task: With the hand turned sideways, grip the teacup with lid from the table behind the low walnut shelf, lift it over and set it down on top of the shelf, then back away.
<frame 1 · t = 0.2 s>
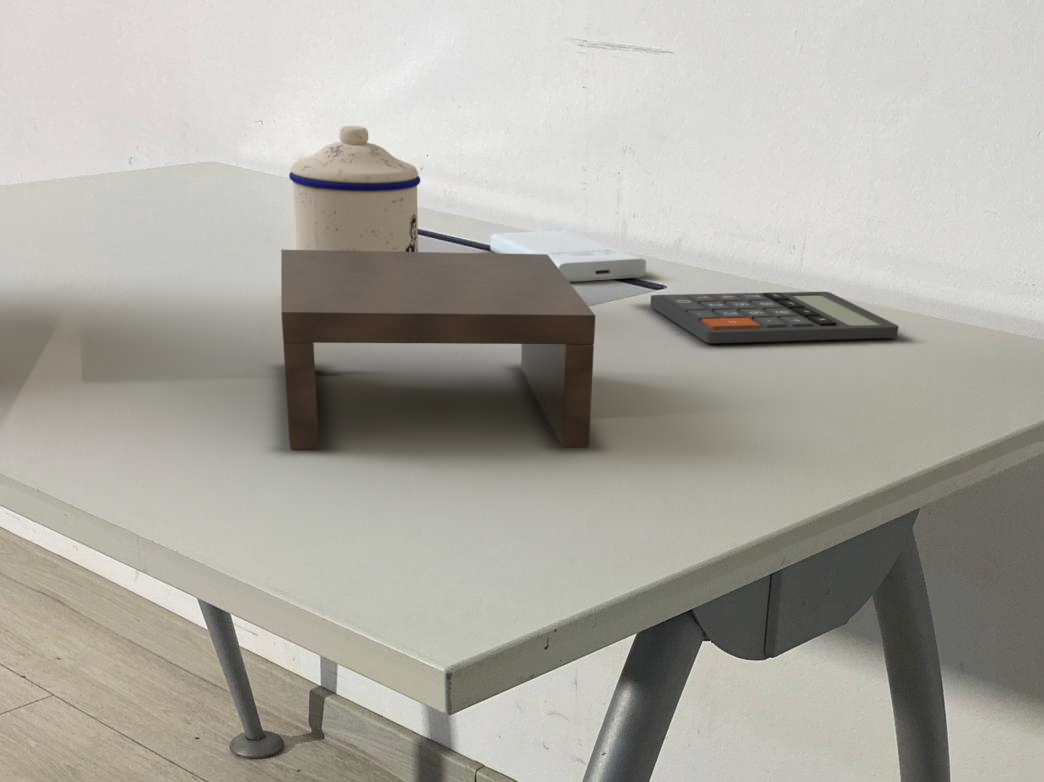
calculator: (770, 323, 106), on the table
hard drive: (565, 267, 120), on the table
shelf: (429, 405, 83), on the table
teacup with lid: (356, 299, 106), on the table
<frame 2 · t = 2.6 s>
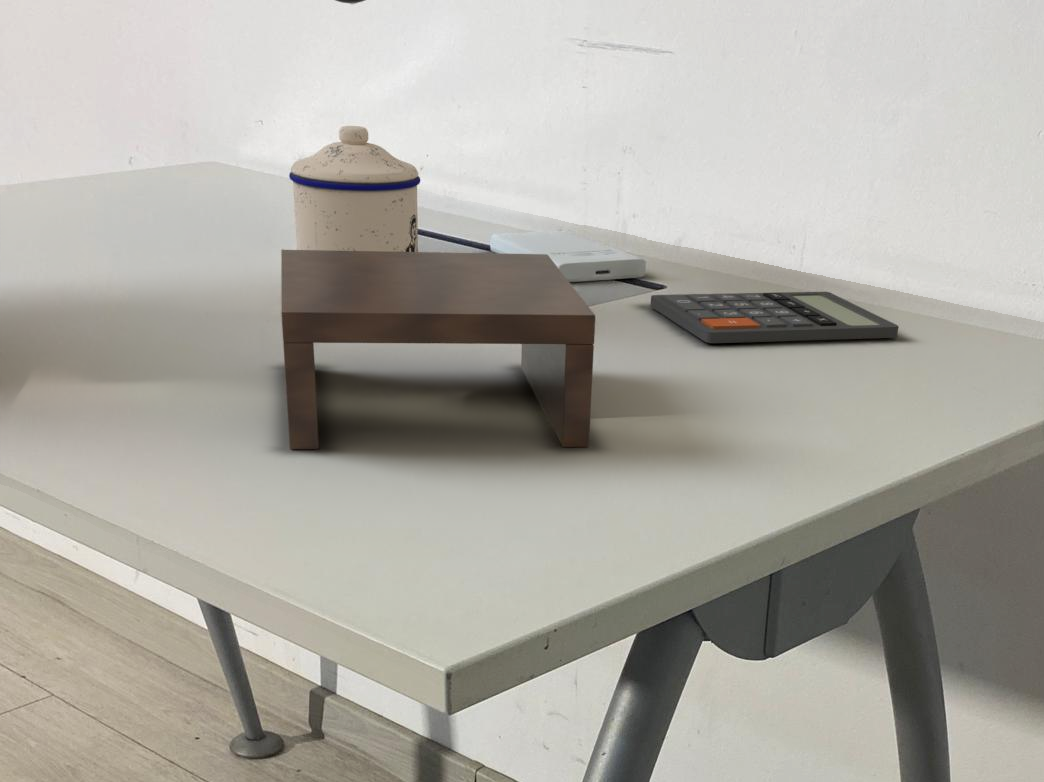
nothing on the table moved.
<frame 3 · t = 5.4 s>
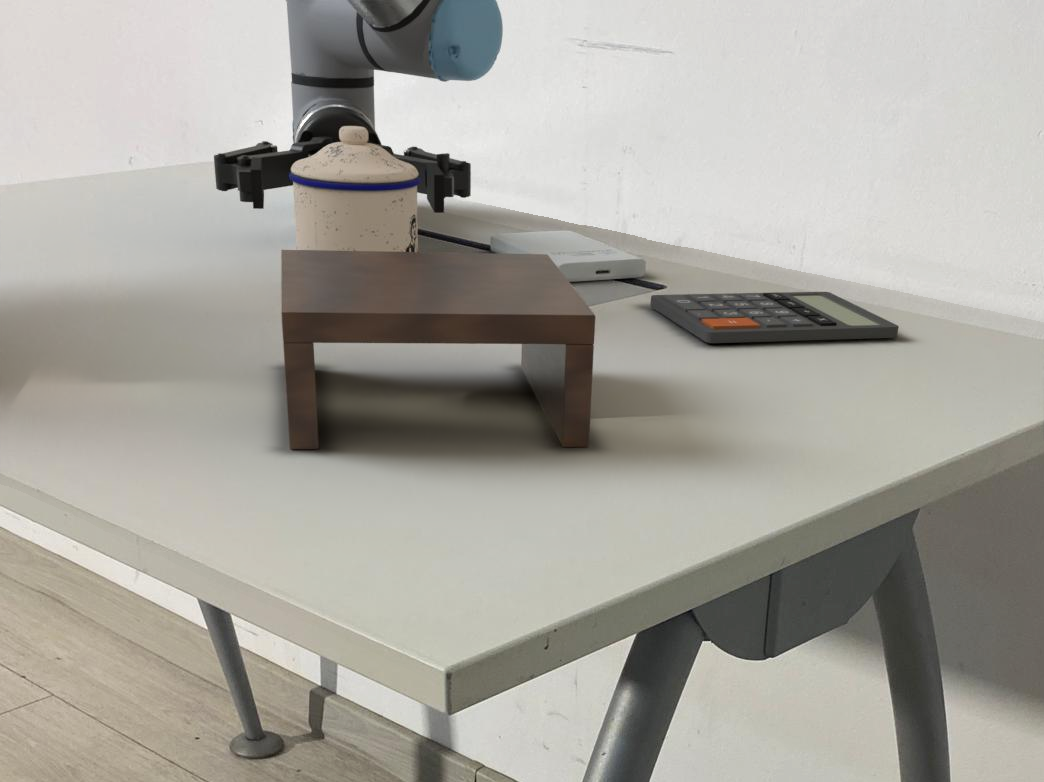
hand: (349, 191, 108), 6 cm above the table, tool horizontal, fingers open, 13 cm apart
nothing on the table moved.
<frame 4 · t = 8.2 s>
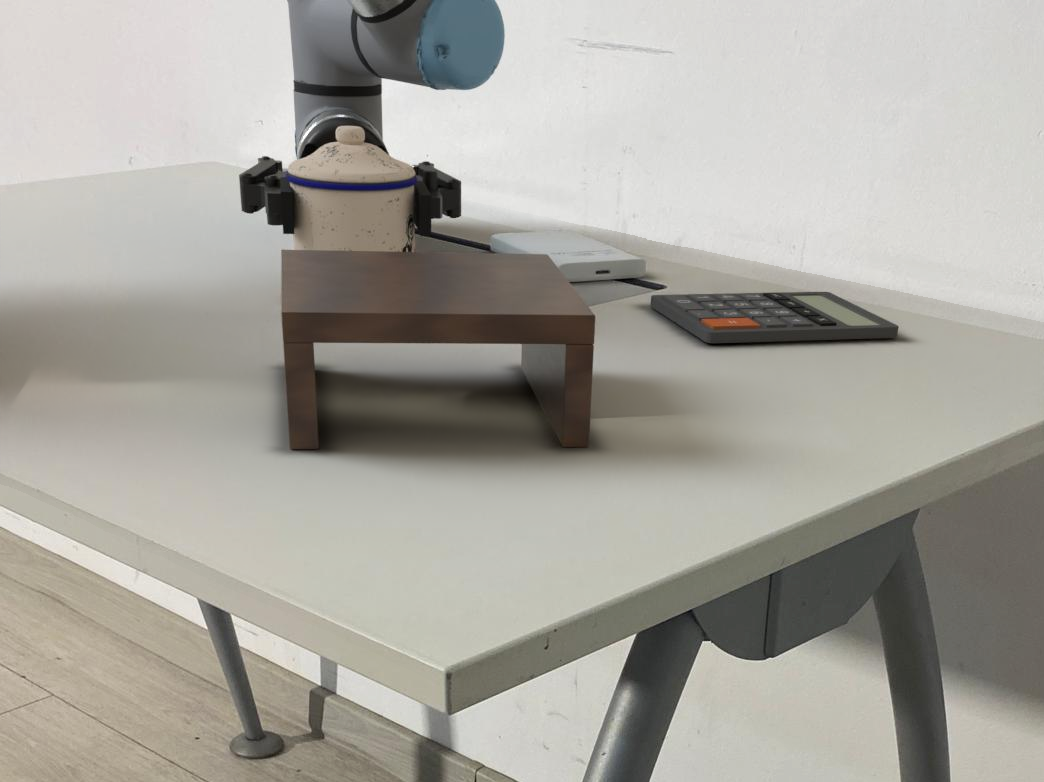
hand: (357, 214, 99), 7 cm above the table, tool horizontal, fingers closed on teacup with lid, 9 cm apart
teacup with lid: (354, 299, 106), on the table, touching gripper
everything else where it was.
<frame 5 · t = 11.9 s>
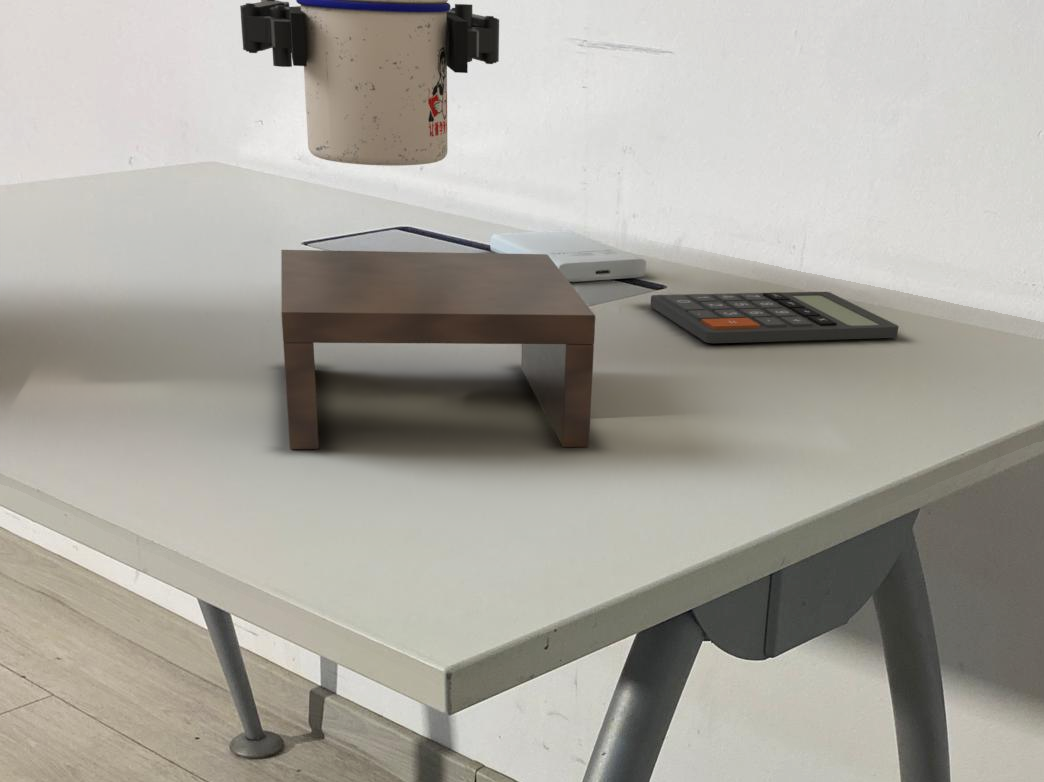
hand: (380, 43, 84), 18 cm above the table, tool horizontal, fingers closed on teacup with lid, 9 cm apart
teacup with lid: (374, 156, 91), point 11 cm above the table, touching gripper
everything else where it was.
when the fingers open (13 cm above the table, at t = 15.8 s): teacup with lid stays where it is, resting on shelf.
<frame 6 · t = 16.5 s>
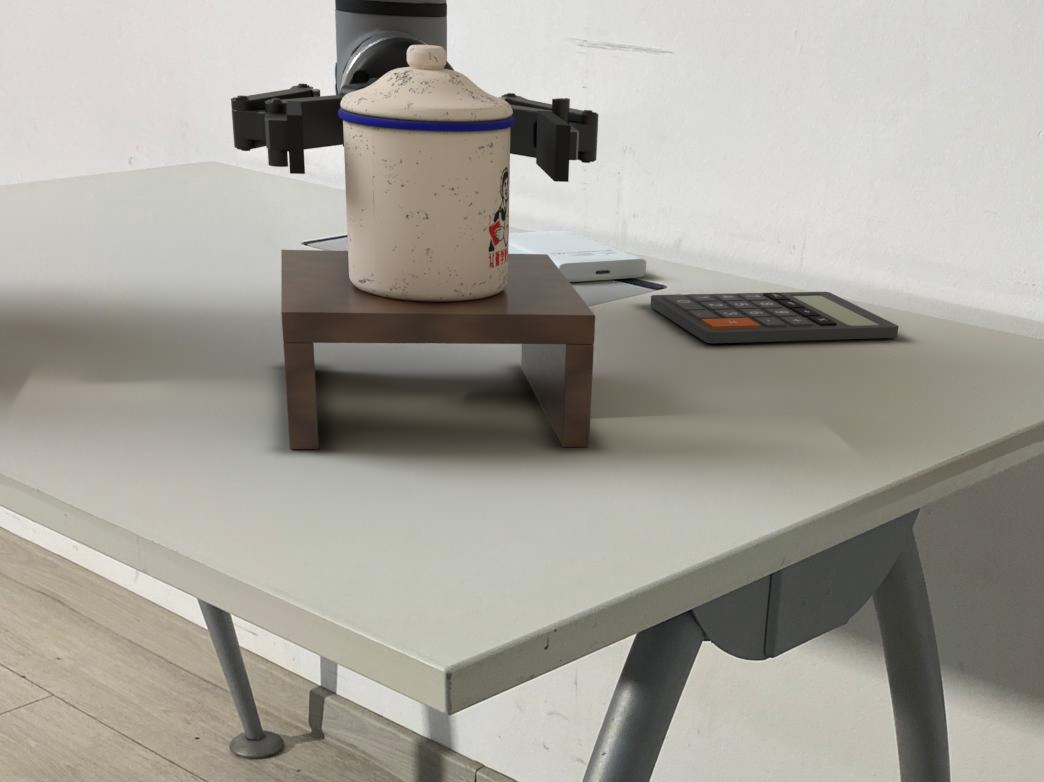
hand: (431, 149, 73), 14 cm above the table, tool horizontal, fingers open, 13 cm apart
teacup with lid: (424, 283, 79), point 7 cm above the table, touching shelf
everything else where it was.
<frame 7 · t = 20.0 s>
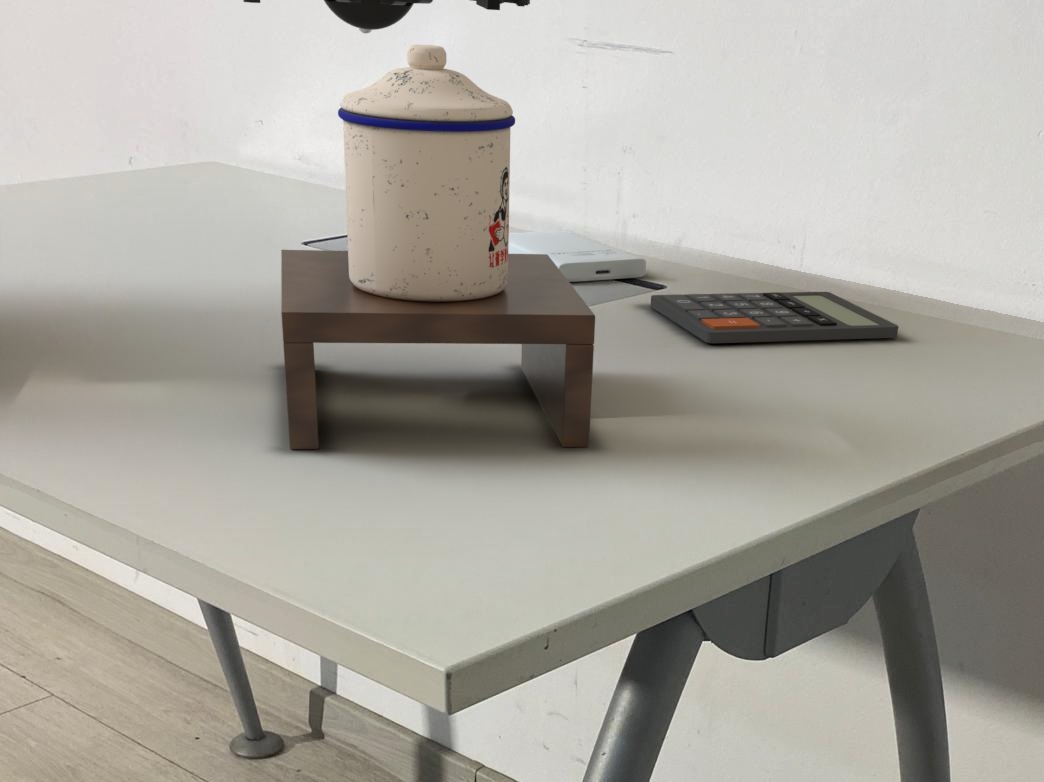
nothing on the table moved.
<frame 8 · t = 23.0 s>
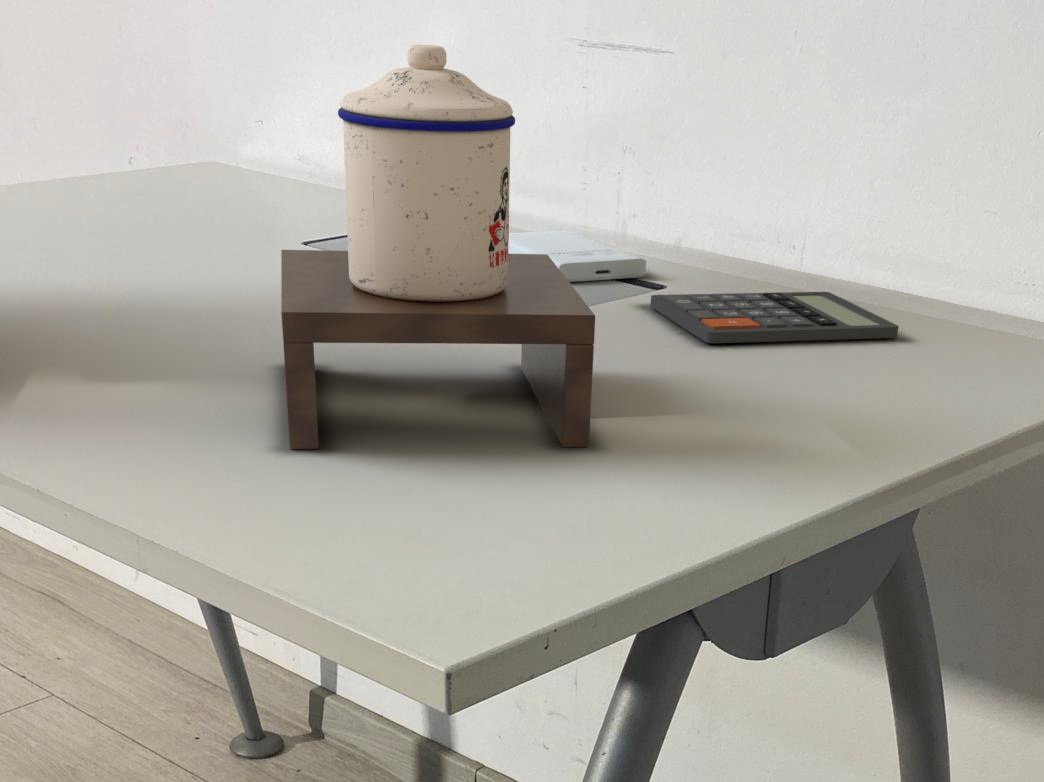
nothing on the table moved.
at the end: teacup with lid inside the target area on the shelf (0.2 cm from its centre), point 6.8 cm above the shelf's base; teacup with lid tilted 0°; the gripper is holding nothing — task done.
